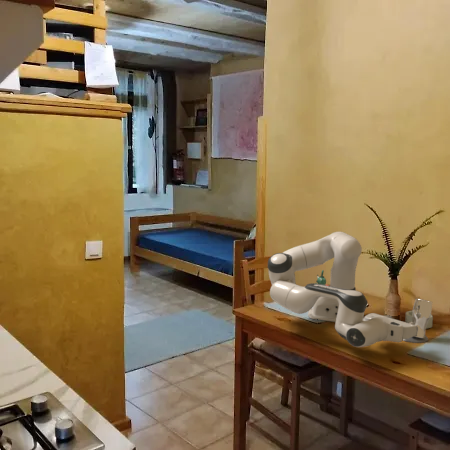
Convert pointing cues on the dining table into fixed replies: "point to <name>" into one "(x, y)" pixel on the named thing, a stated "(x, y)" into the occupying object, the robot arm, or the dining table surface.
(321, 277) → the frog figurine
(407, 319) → the bowl
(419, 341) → the coaster
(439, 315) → the dining table surface
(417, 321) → the beer glass
